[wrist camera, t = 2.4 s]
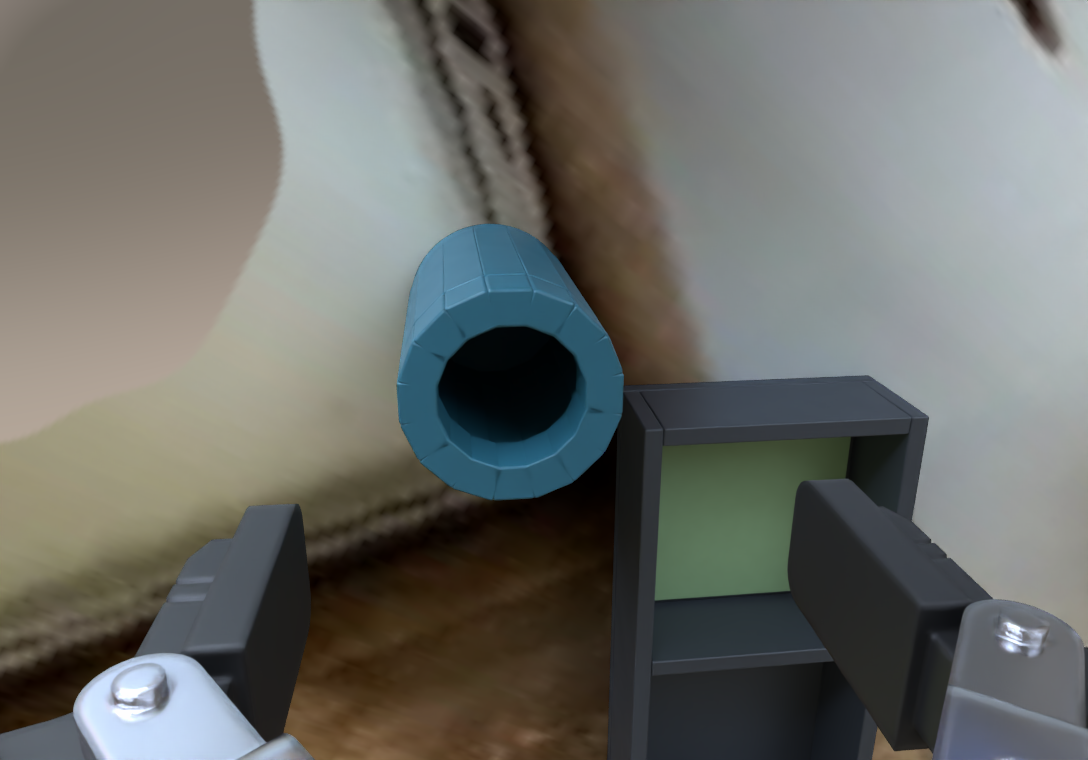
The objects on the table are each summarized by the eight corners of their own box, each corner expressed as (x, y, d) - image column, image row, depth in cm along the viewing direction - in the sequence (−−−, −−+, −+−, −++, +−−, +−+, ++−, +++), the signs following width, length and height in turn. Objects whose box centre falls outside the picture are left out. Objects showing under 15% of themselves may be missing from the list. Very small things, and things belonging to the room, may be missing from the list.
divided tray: (606, 782, 35) (626, 866, 31) (618, 385, 29) (645, 430, 25) (815, 762, 36) (858, 841, 32) (868, 374, 30) (930, 416, 26)
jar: (415, 379, 28) (404, 507, 20) (406, 225, 26) (390, 291, 18) (567, 373, 29) (620, 494, 20) (569, 221, 27) (627, 285, 18)
